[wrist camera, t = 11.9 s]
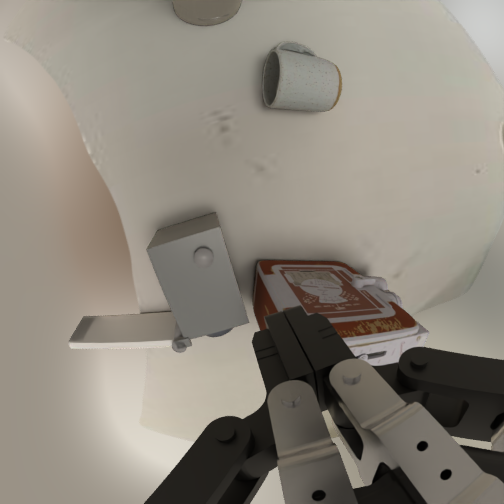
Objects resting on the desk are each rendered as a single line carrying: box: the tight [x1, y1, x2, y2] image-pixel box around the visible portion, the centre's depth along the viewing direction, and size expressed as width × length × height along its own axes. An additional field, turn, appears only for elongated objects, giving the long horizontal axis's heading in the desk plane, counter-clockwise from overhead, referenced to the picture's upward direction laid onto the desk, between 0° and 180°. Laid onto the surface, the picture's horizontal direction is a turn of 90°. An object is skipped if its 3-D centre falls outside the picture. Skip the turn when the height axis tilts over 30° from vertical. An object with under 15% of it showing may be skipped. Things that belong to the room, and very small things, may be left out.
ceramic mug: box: [262, 41, 342, 112], centre depth 28 cm, size 11×8×8 cm
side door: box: [68, 312, 183, 349], centre depth 34 cm, size 17×2×7 cm, turn 92°
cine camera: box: [253, 260, 429, 366], centre depth 32 cm, size 9×19×20 cm, turn 85°
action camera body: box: [146, 212, 249, 353], centre depth 33 cm, size 14×10×9 cm
